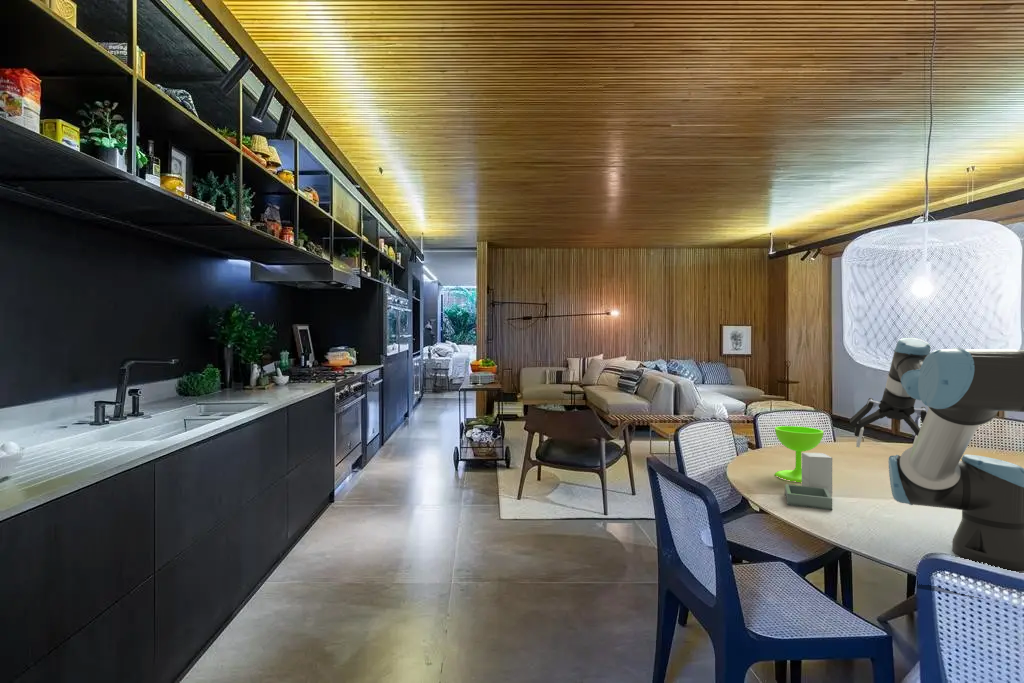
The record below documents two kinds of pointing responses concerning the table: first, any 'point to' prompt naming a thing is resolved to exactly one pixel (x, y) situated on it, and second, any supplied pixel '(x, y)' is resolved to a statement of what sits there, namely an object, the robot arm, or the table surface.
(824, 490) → the holder
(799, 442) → the wineglass
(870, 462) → the table surface
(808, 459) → the supplement box
